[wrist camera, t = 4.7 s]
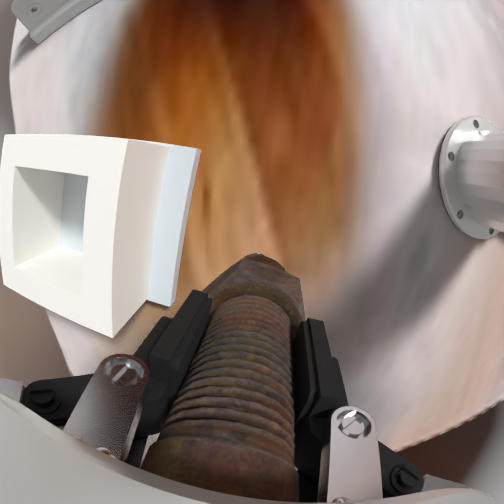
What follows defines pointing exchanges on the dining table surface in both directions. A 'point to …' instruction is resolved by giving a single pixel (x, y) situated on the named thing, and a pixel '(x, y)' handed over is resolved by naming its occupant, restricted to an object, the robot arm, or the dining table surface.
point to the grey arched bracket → (47, 14)
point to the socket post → (94, 223)
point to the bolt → (238, 390)
